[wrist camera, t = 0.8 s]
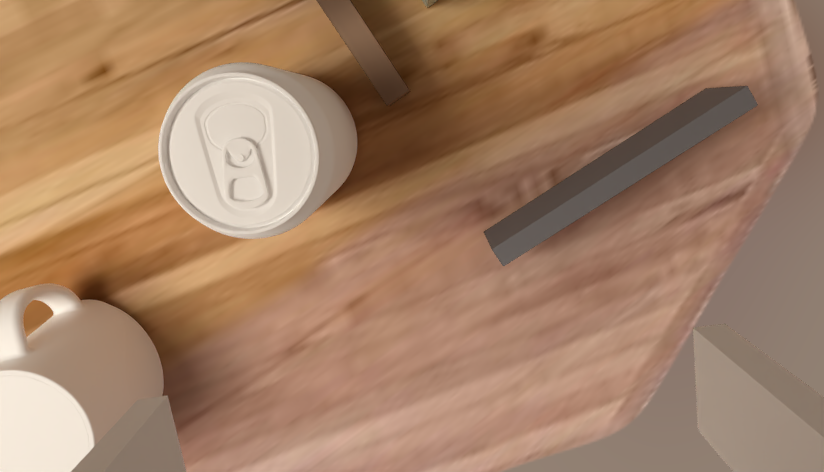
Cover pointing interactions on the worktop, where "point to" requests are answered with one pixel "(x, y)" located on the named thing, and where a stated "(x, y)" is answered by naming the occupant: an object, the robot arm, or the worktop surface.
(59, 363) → the mug
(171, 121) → the beverage can
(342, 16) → the pair of brown rails
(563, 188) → the bar
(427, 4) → the block
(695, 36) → the worktop surface
